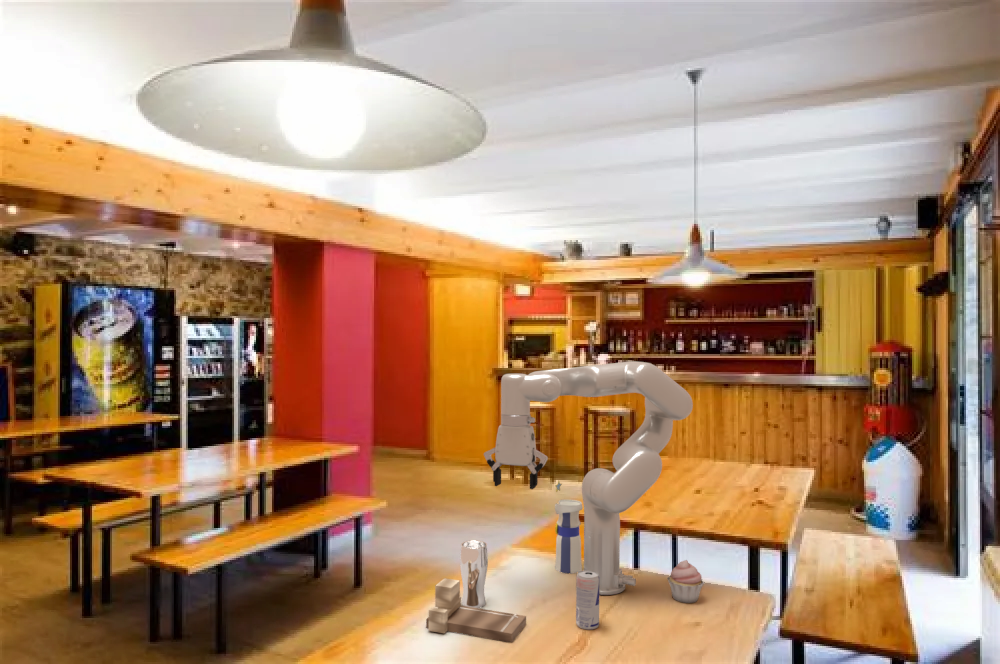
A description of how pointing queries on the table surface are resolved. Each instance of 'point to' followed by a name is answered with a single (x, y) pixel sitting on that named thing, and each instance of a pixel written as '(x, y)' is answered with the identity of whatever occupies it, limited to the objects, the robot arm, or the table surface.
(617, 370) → the robot arm
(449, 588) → the stacked wooden blocks
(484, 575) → the beer glass
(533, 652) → the table surface
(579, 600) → the energy drink
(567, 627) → the table surface
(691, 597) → the cupcake
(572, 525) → the water bottle
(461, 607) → the board
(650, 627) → the table surface
